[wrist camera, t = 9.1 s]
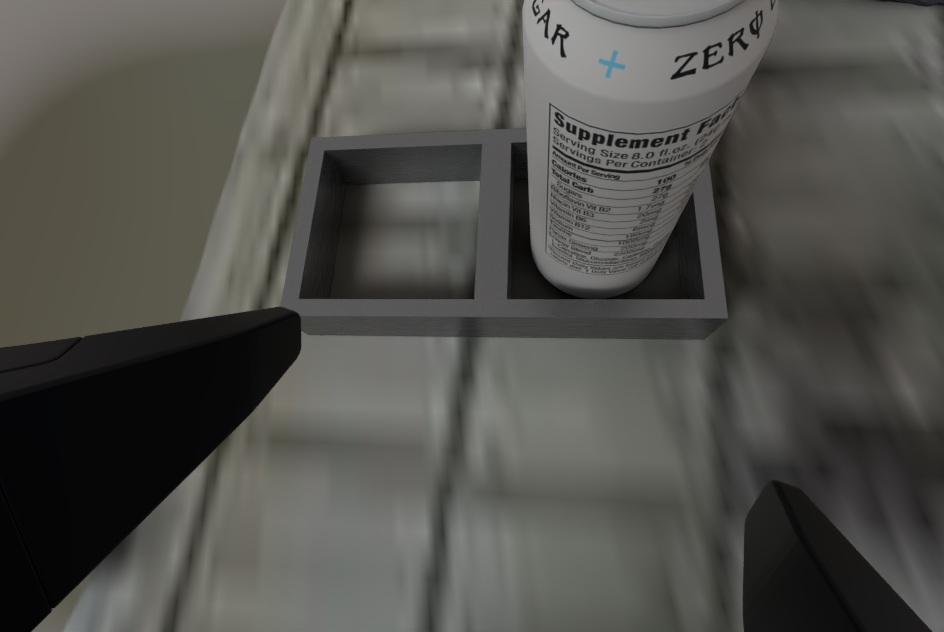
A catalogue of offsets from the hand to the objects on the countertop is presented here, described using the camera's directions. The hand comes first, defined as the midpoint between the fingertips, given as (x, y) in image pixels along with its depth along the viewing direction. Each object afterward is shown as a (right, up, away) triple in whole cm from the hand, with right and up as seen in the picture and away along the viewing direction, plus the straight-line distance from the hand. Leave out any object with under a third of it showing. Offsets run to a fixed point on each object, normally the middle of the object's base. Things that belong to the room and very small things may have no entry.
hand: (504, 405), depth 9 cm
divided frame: (+1, +5, +16) cm, 17 cm away
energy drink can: (+5, +5, +16) cm, 17 cm away
